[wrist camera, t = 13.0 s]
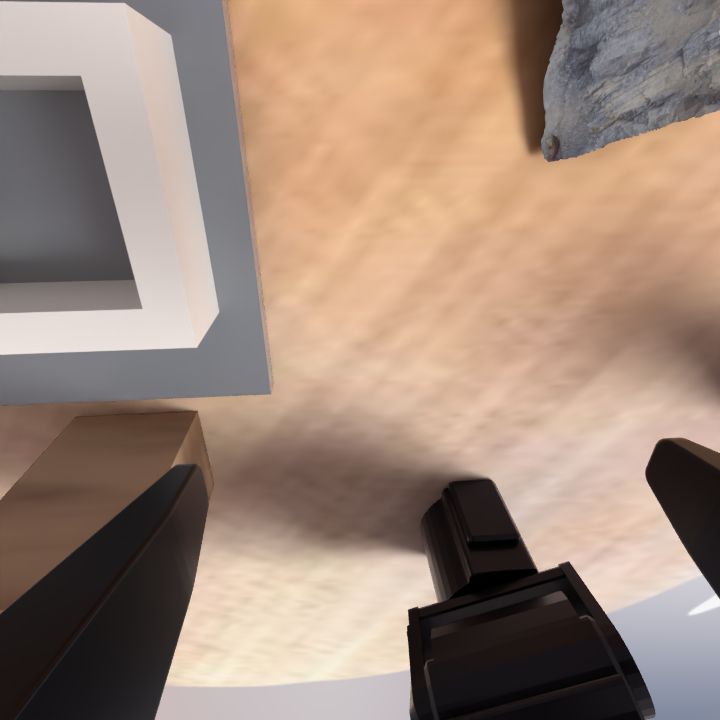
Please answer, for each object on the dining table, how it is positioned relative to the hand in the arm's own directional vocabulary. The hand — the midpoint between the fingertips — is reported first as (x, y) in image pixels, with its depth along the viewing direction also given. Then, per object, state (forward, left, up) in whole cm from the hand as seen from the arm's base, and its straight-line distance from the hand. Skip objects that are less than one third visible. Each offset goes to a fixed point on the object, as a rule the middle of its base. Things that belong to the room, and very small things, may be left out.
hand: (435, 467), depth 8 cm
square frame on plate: (+4, +12, -12) cm, 17 cm away
